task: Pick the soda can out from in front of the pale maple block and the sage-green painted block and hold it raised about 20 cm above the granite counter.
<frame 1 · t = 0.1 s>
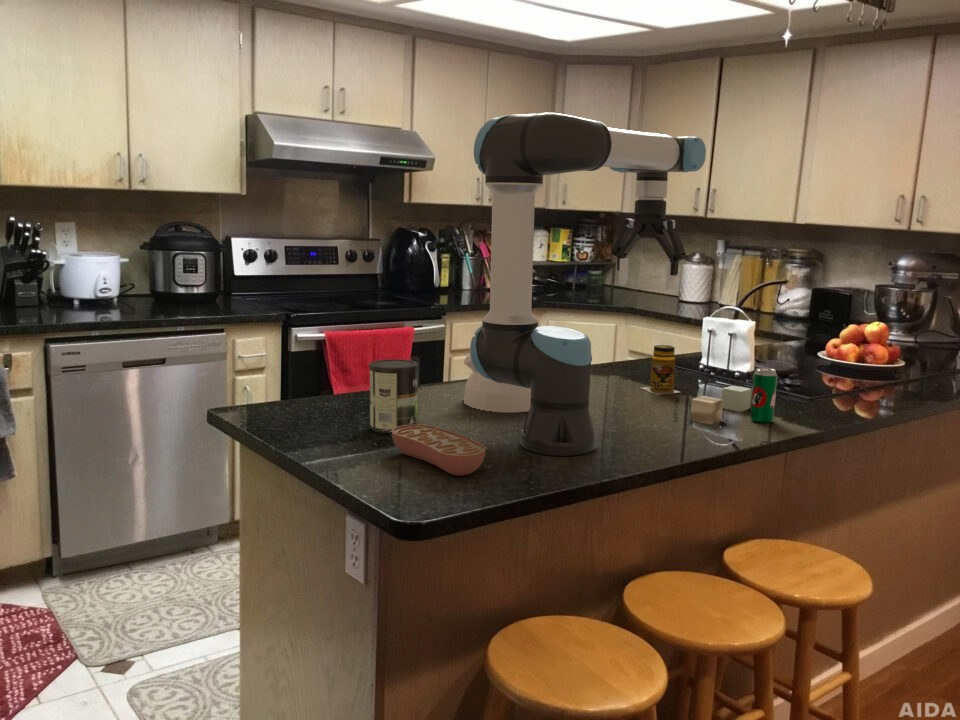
hand: (645, 286, 207), 28 cm above the table, fingers open, 13 cm apart
soda can: (761, 422, 191), on the table
sage block: (735, 408, 203), on the table
condiment: (660, 391, 221), on the table
kettle: (504, 403, 204), on the table
maple block: (705, 420, 191), on the table
coffee can: (393, 429, 179), on the table
anatomical model: (438, 465, 156), on the table
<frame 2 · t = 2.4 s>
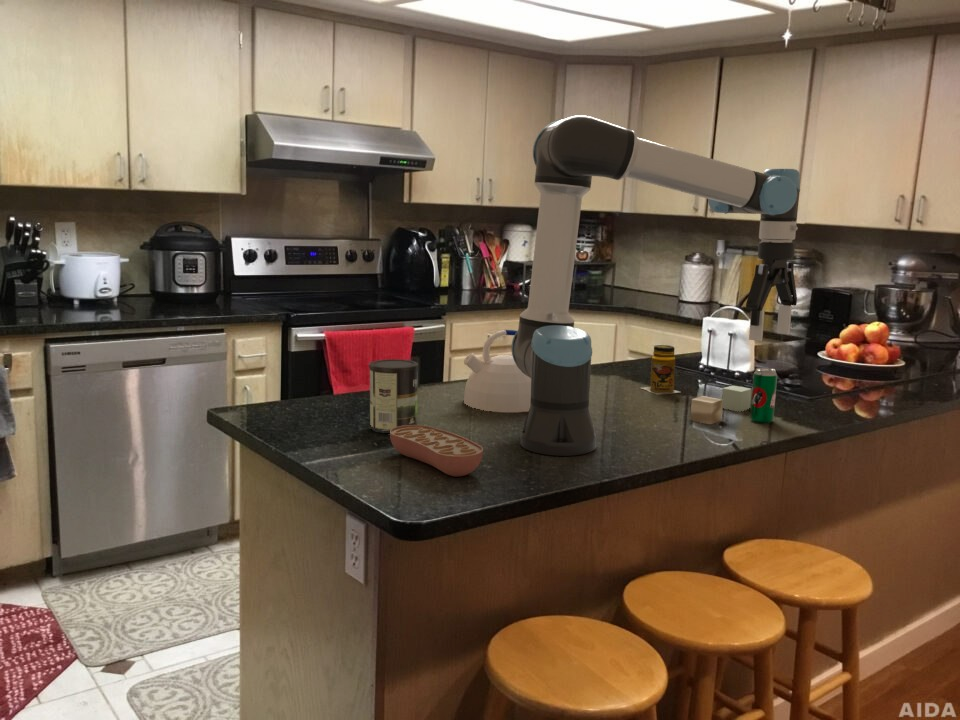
hand: (769, 337, 188), 19 cm above the table, fingers open, 13 cm apart
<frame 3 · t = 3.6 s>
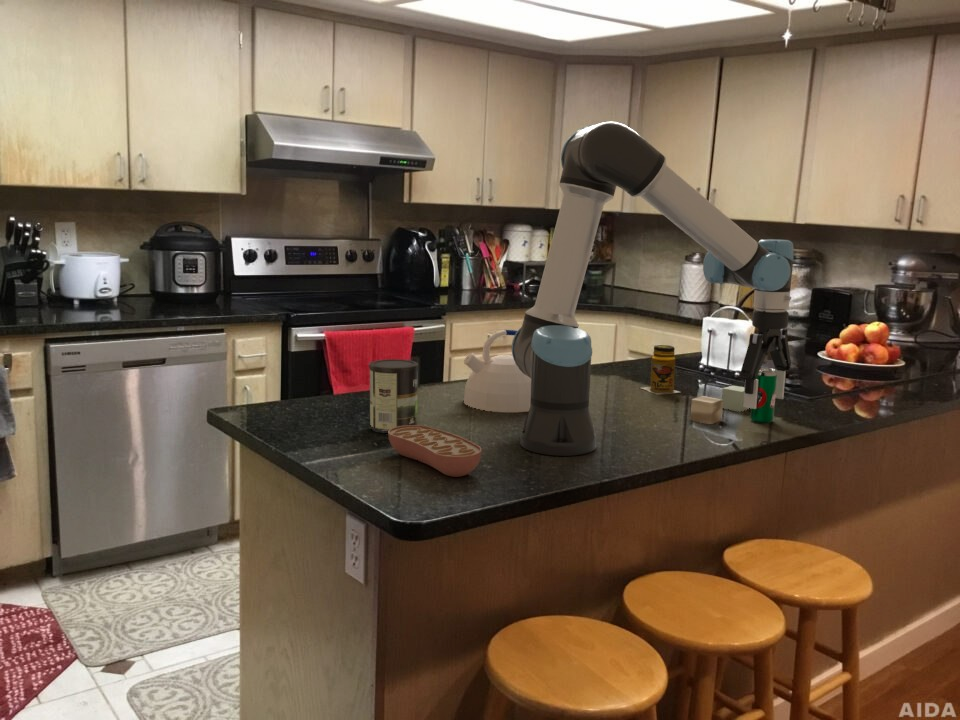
hand: (763, 402, 190), 4 cm above the table, fingers open, 13 cm apart
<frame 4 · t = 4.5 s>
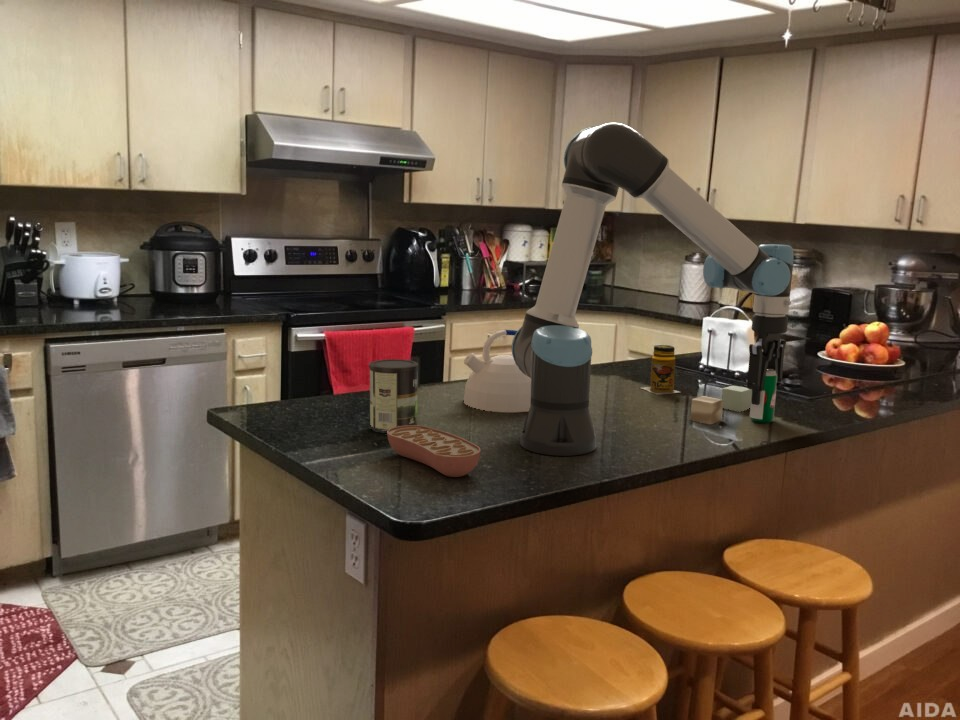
hand: (761, 415, 191), 1 cm above the table, fingers closed on soda can, 5 cm apart
soda can: (761, 422, 191), on the table, touching gripper
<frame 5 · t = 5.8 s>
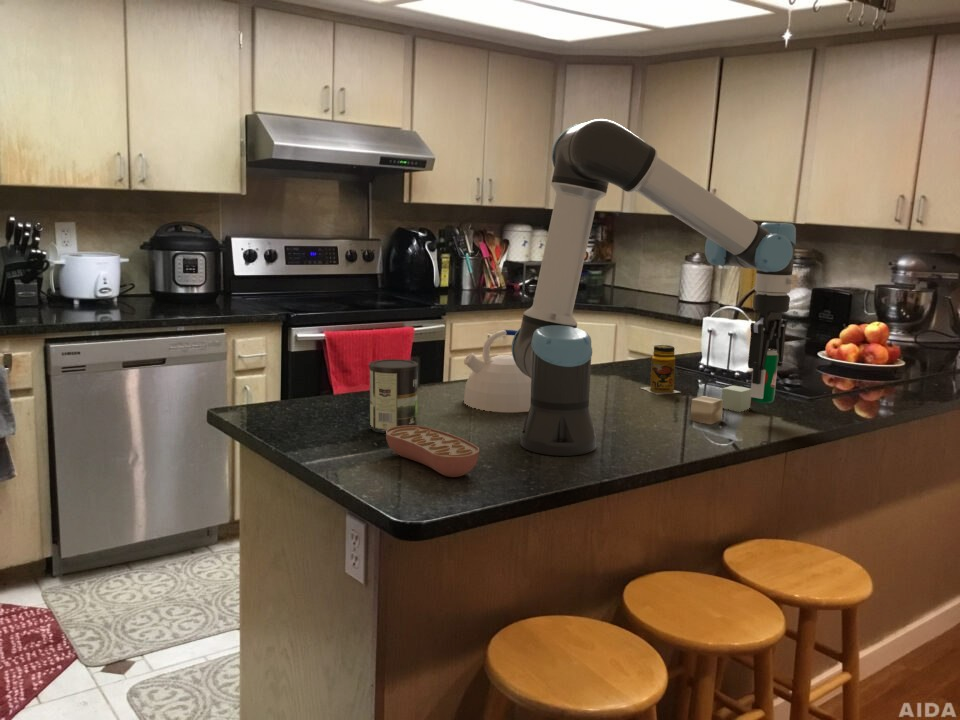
hand: (762, 395, 190), 6 cm above the table, fingers closed on soda can, 5 cm apart
soda can: (761, 402, 190), point 4 cm above the table, touching gripper
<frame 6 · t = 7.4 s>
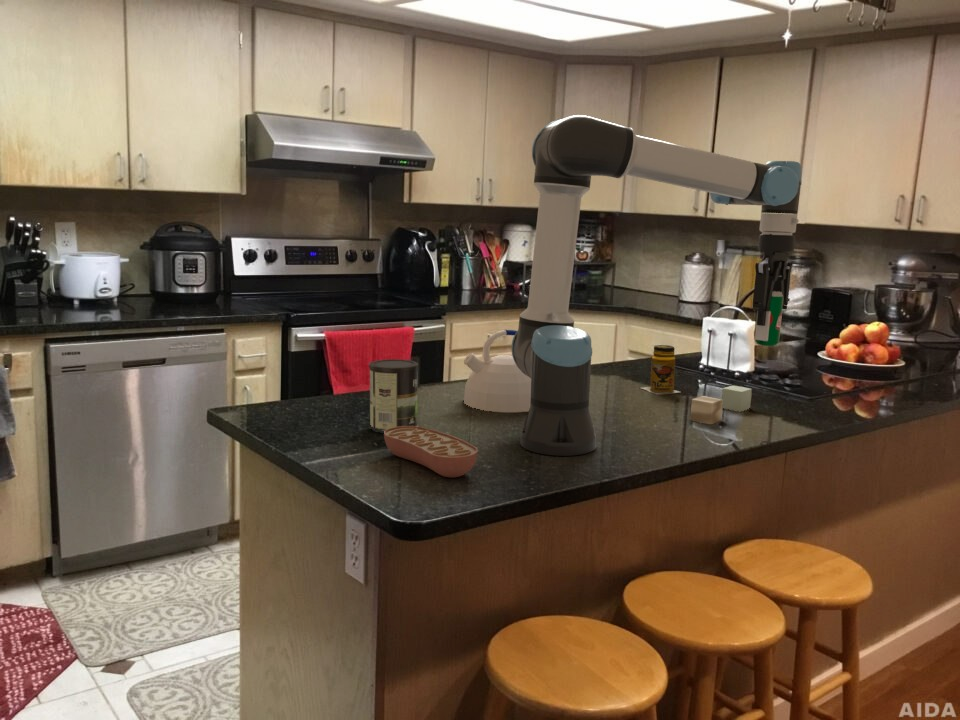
hand: (767, 338, 188), 19 cm above the table, fingers closed on soda can, 5 cm apart
soda can: (766, 345, 188), point 18 cm above the table, touching gripper
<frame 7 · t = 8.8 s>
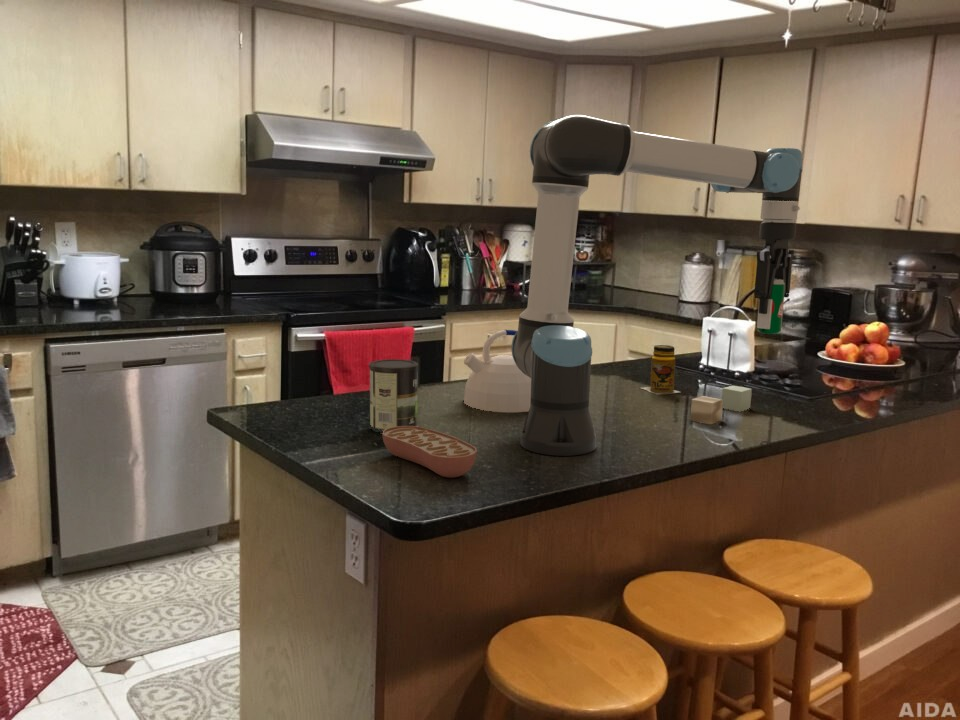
hand: (769, 326, 187), 22 cm above the table, fingers closed on soda can, 5 cm apart
soda can: (768, 333, 187), point 20 cm above the table, touching gripper
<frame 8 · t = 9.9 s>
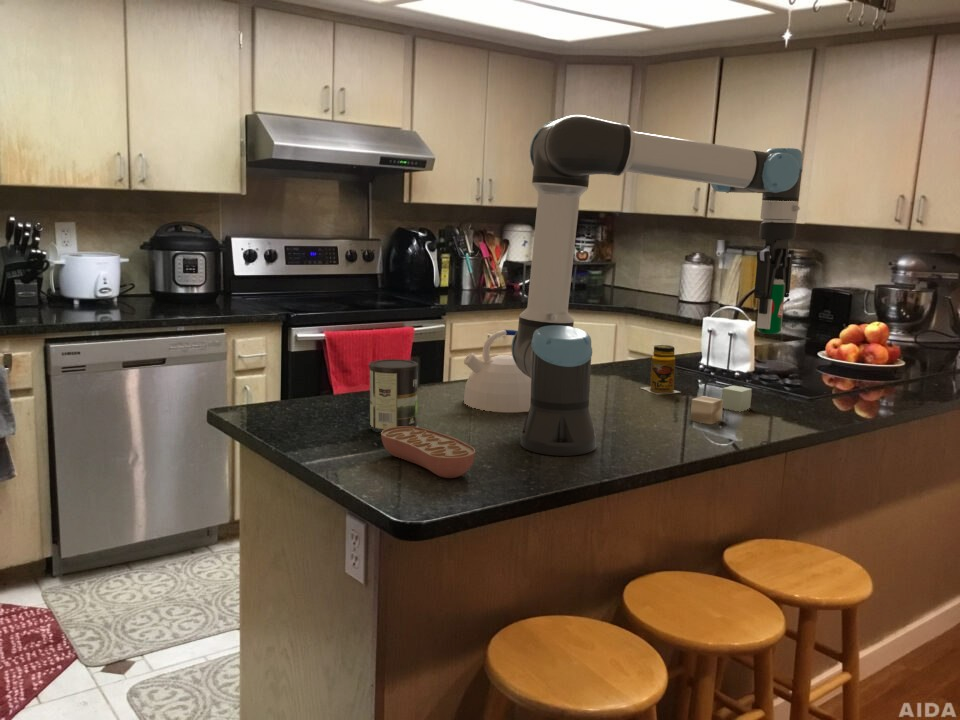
hand: (769, 326, 187), 22 cm above the table, fingers closed on soda can, 5 cm apart
soda can: (768, 333, 187), point 20 cm above the table, touching gripper
at the end: the gripper is holding soda can; soda can point 20.2 cm above the table; maple block moved 0.1 cm from its start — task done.
